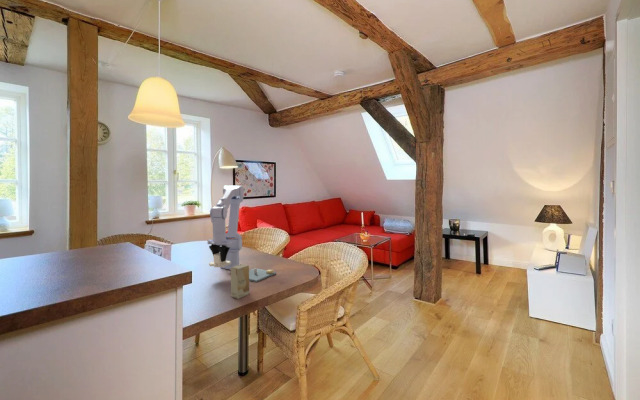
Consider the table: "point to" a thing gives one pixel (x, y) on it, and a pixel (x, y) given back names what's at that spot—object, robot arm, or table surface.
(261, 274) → the carrier plate
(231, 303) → the table surface
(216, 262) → the gear
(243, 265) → the skincare box
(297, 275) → the table surface
